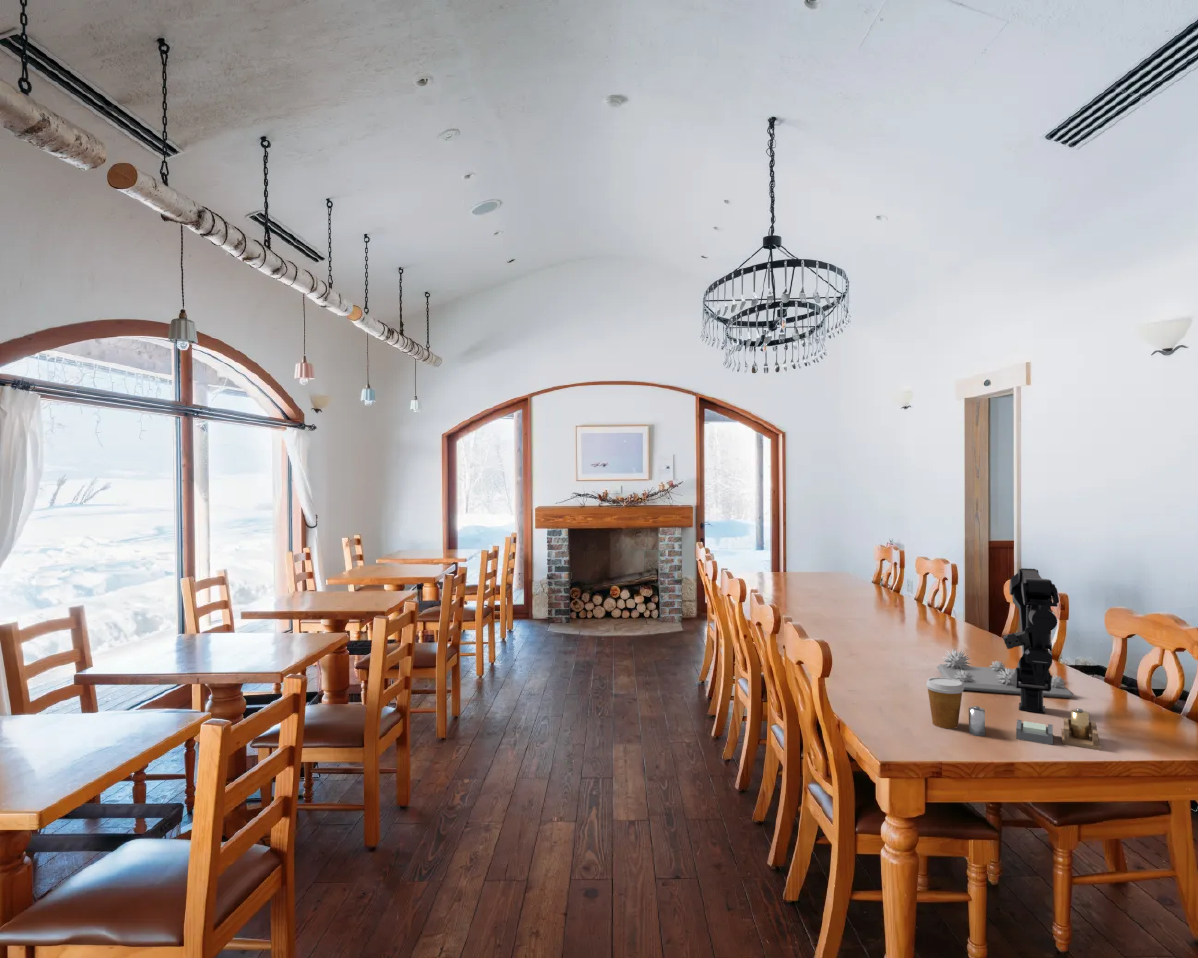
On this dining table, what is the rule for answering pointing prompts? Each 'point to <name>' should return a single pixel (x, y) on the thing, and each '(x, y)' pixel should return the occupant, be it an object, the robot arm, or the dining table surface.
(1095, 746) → the wooden open box
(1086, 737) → the cell bronze
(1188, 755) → the dining table surface
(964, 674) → the decorative tray
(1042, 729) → the checker pad
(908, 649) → the dining table surface
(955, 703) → the disposable coffee cup
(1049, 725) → the base
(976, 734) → the cell steel
